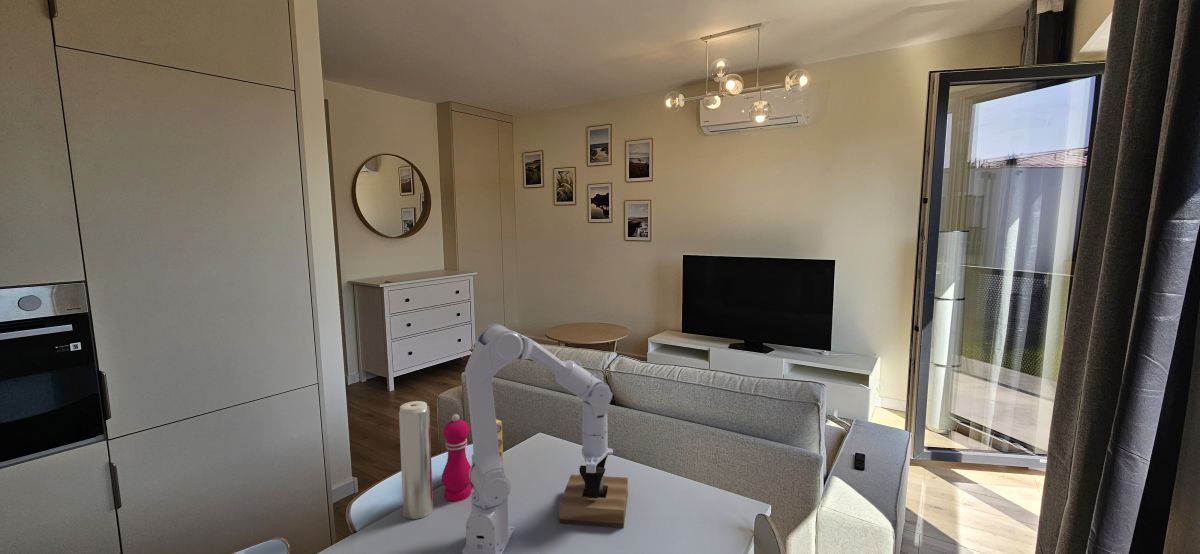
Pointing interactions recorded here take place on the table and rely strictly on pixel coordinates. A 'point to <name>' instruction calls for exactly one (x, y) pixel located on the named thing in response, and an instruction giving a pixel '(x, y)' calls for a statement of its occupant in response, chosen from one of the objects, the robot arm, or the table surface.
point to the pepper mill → (456, 461)
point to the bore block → (594, 503)
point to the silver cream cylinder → (416, 459)
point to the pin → (599, 489)
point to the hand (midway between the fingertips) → (595, 488)
